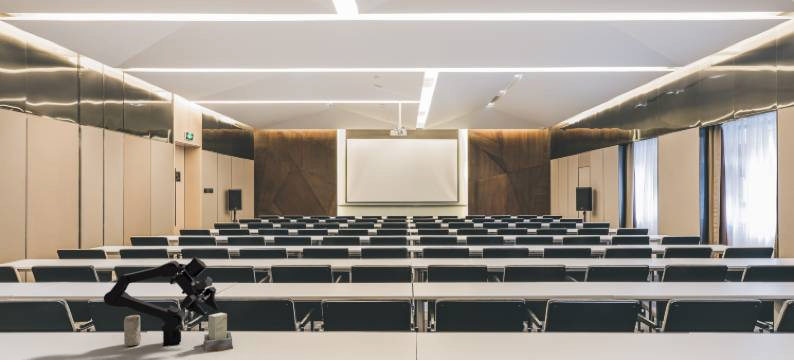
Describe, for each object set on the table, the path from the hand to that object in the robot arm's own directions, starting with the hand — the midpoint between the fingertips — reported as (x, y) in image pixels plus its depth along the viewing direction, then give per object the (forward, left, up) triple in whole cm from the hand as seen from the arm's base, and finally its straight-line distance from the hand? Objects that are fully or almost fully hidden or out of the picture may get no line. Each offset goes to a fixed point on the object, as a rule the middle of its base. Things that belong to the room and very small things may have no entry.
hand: (211, 312), depth 216 cm
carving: (-31, +12, -14) cm, 36 cm away
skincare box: (+2, -3, -13) cm, 13 cm away
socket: (+2, -3, -14) cm, 14 cm away
